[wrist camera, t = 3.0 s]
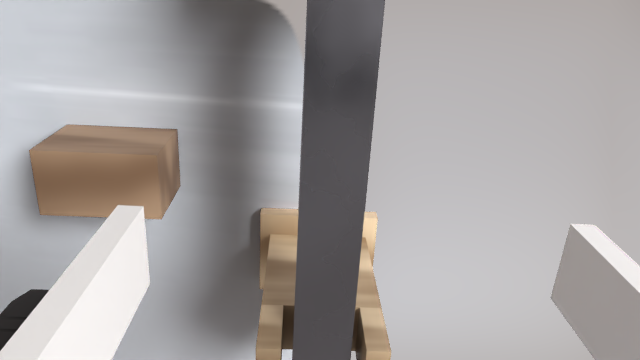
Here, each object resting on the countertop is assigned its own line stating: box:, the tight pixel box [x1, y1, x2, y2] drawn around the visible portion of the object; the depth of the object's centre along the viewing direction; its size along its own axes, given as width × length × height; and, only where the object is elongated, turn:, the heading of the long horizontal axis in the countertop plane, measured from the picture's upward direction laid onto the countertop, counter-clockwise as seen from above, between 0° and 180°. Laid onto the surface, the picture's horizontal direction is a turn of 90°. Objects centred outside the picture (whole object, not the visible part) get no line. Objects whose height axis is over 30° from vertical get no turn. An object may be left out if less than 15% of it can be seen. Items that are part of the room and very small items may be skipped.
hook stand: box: [256, 208, 391, 360], centre depth 27 cm, size 27×8×12 cm, turn 177°
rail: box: [292, 0, 385, 360], centre depth 24 cm, size 28×3×2 cm, turn 177°
